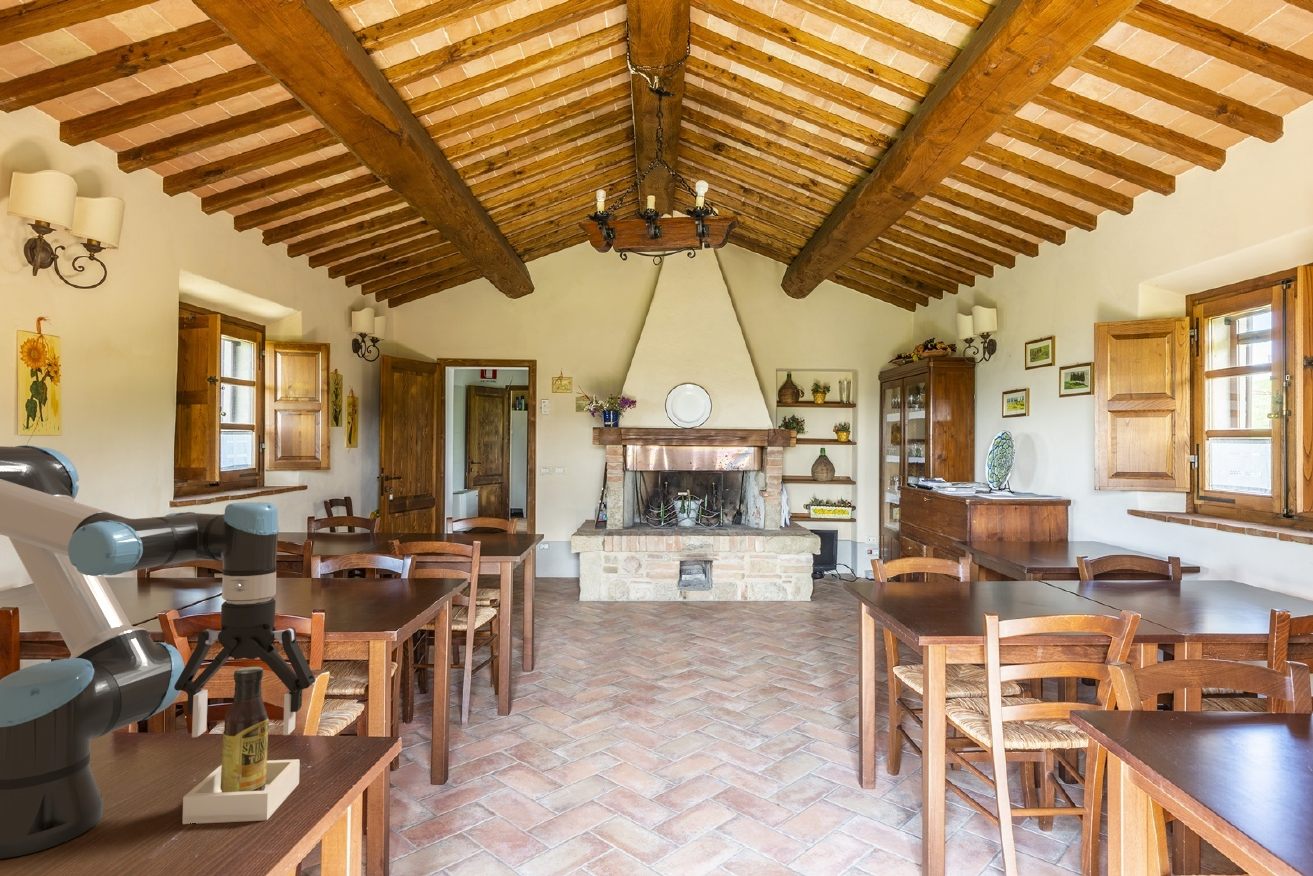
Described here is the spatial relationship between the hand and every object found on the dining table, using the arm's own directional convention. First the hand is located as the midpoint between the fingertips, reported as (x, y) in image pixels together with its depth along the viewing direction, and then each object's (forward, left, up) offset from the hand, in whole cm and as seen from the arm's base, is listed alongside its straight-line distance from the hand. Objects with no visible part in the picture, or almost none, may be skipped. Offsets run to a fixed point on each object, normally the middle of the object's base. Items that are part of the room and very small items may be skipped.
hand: (244, 733), depth 111 cm
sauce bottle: (0, 0, -10) cm, 10 cm away
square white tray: (0, 0, -11) cm, 11 cm away
